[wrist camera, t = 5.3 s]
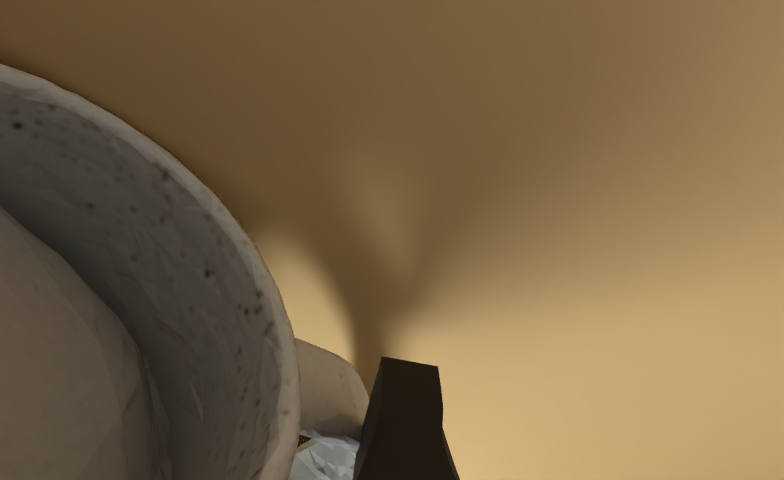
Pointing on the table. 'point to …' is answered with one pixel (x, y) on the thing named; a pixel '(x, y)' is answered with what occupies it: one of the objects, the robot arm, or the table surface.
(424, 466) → the robot arm
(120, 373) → the ceramic mug
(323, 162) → the table surface
